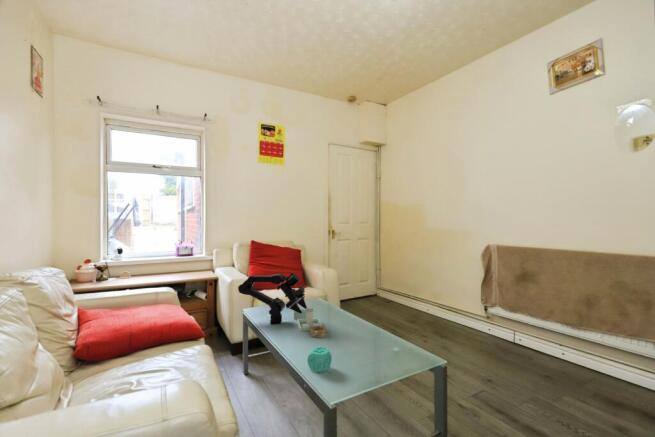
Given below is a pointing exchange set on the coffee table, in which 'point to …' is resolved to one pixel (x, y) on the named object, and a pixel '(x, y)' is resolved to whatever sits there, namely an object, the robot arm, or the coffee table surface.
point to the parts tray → (307, 326)
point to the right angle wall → (300, 316)
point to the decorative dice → (319, 359)
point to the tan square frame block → (318, 331)
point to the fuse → (309, 316)
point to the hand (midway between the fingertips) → (304, 310)
